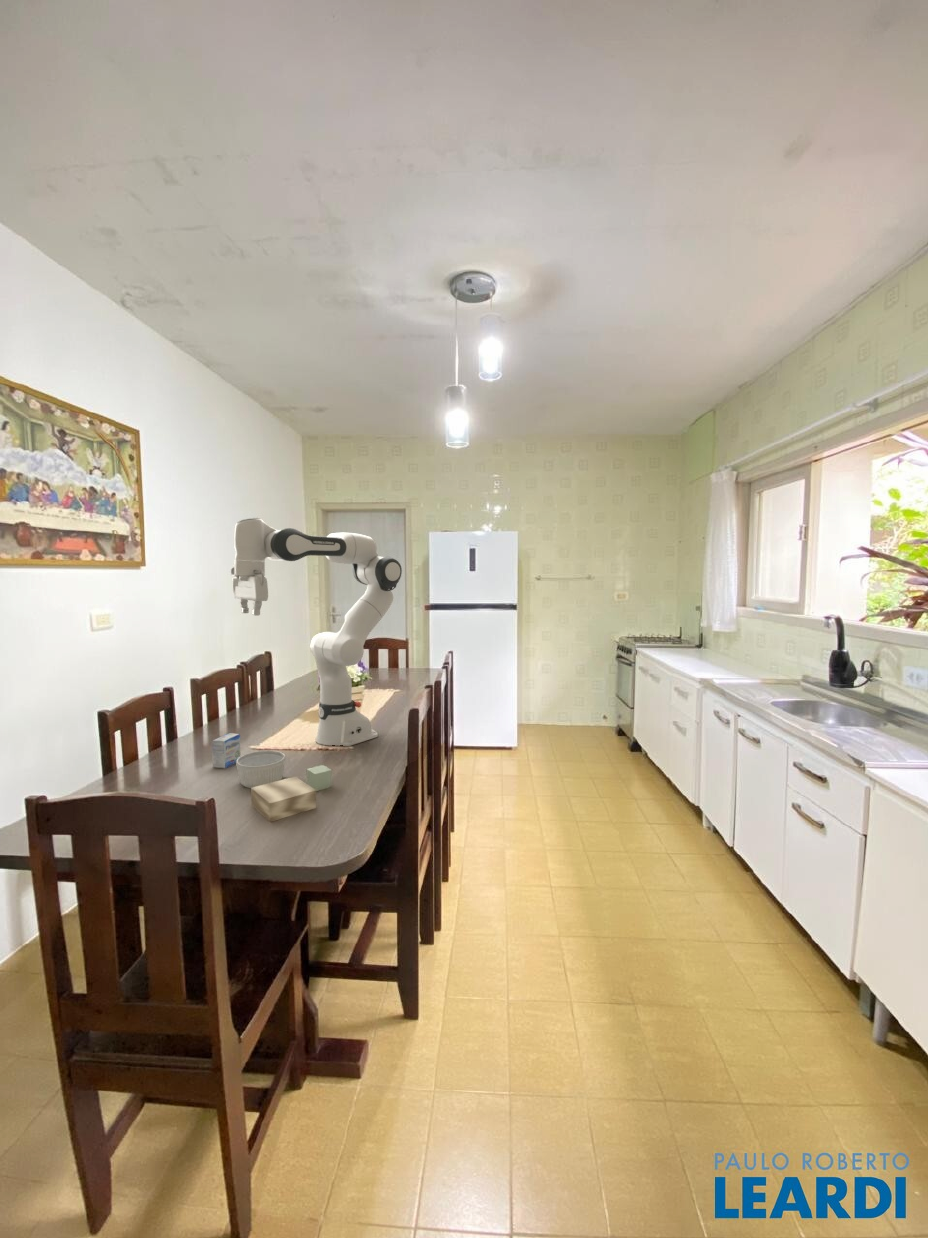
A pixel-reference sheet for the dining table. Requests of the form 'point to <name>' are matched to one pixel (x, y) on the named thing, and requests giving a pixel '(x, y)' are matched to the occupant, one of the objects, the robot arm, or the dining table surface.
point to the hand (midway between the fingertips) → (250, 614)
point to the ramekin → (260, 767)
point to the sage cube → (319, 777)
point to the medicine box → (225, 750)
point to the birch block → (283, 798)
